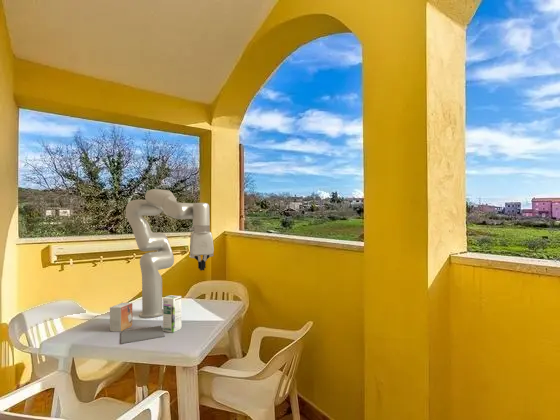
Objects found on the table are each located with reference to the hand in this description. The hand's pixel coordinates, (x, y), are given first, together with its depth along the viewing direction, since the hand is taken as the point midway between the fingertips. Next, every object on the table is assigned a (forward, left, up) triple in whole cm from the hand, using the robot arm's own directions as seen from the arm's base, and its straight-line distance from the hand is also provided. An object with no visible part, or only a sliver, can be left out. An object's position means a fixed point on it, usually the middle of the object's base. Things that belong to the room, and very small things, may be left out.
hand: (201, 270), depth 146 cm
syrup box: (0, -13, -25) cm, 28 cm away
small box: (-13, -33, -25) cm, 44 cm away
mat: (0, -25, -25) cm, 35 cm away
